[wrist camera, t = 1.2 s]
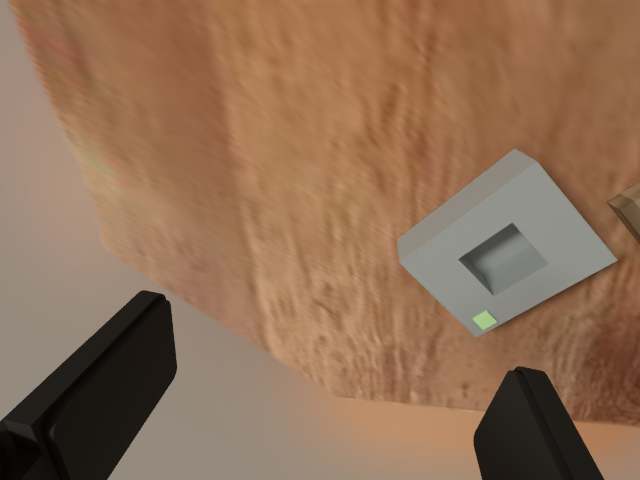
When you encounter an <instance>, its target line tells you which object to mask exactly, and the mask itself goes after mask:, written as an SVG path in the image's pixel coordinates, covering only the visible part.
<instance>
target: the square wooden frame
mask: <svg viewBox="0 0 640 480" xmlns="http://www.w3.org/2000/svg"><path fill="white" fill-rule="evenodd" d="M607 203H608V204H609V205H610V207H611V208H612V209H613V211H614V212H615V213H616V214H617V216H618V217H619V218H620V219H621V221H622V222H623V223H624V225H625V226H626V227H627V228H628V230H629V231H630V232H631V234H632V235H633V236H634V237H635V239H636V240H637V241H638V243H639V244H640V182H638V183H637V184H635V185H633V186H632V187H630V188H629V189H627V190H625V191H624V192H622V193H621V194H619V195H617V196H616V197H614V198H613V199H611V200H609V201H608V202H607Z"/></svg>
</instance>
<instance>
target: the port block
mask: <svg viewBox="0 0 640 480" xmlns="http://www.w3.org/2000/svg"><path fill="white" fill-rule="evenodd" d="M397 246H398V256H399V263H400V264H401V265H402V266H403V267H404V268H405V269H406V270H407V271H408V272H409V273H410V274H411V275H412V276H413V277H415V278H416V279H417V280H418V281H419V282H420V283H421V284H422V285H423V286H424V287H425V288H426V289H427V290H428V291H429V292H430V293H431V294H432V295H433V296H434V297H435V298H436V299H437V300H438V301H439V302H440V303H441V304H442V305H443V306H444V307H445V308H446V309H447V310H448V311H449V312H450V313H451V314H452V315H453V316H454V317H455V318H456V319H457V320H459V321H460V322H461V323H462V324H463V325H464V326H465V327H466V328H467V329H468V330H469V331H470V332H471V333H472V334H473V335H474V336H475V337H476V338H477V337H479V336H481V335H482V334H484V333H486V332H488V331H490V330H491V329H493V328H495V327H497V326H499V325H501V324H502V323H504V322H506V321H508V320H510V319H512V318H513V317H515V316H517V315H519V314H521V313H523V312H524V311H526V310H528V309H530V308H532V307H533V306H535V305H537V304H539V303H541V302H543V301H544V300H546V299H548V298H550V297H552V296H554V295H555V294H557V293H559V292H561V291H563V290H564V289H566V288H568V287H570V286H572V285H574V284H575V283H577V282H579V281H581V280H583V279H585V278H586V277H588V276H590V275H592V274H594V273H596V272H597V271H599V270H601V269H603V268H605V267H606V266H608V265H610V264H612V263H614V262H616V261H617V259H616V258H615V257H614V255H613V254H612V253H611V252H610V250H609V249H608V248H607V247H606V246H605V244H604V243H603V242H602V241H601V239H600V238H599V237H598V236H597V234H596V233H595V232H594V231H593V230H592V228H591V227H590V226H589V225H588V223H587V222H586V221H585V220H584V218H583V217H582V216H581V215H580V214H579V212H578V211H577V210H576V209H575V207H574V206H573V205H572V204H571V202H570V201H569V200H568V199H567V198H566V196H565V195H564V194H563V193H562V191H561V190H560V189H559V188H558V186H557V185H556V184H555V183H554V182H553V180H552V179H551V178H550V177H549V175H548V174H547V173H546V172H545V171H544V169H543V168H542V167H541V166H540V164H539V163H538V162H537V161H536V160H534V159H532V158H530V157H529V156H527V155H525V154H524V153H522V152H520V151H519V150H517V149H513V150H512V151H511V152H509V153H508V154H507V155H506V156H504V157H503V158H502V159H500V160H499V161H498V162H496V163H495V164H494V165H493V166H491V167H490V168H489V169H487V170H486V171H485V172H484V173H482V174H481V175H480V176H478V177H477V178H476V179H474V180H473V181H472V182H471V183H469V184H468V185H467V186H465V187H464V188H463V189H462V190H460V191H459V192H458V193H456V194H455V195H454V196H452V197H451V198H450V199H449V200H447V201H446V202H445V203H443V204H442V205H441V206H440V207H438V208H437V209H436V210H434V211H433V212H432V213H431V214H429V215H428V216H427V217H425V218H424V219H423V220H421V221H420V222H419V223H418V224H416V225H415V226H414V227H412V228H411V229H410V230H409V231H407V232H406V233H405V234H403V235H402V236H401V237H399V238H398V239H397Z"/></svg>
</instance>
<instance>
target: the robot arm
mask: <svg viewBox="0 0 640 480" xmlns="http://www.w3.org/2000/svg"><path fill="white" fill-rule="evenodd" d="M176 370H177V362H176V353H175V342H174V334H173V323H172V314H171V305H170V302H169V301H168V300H166V298H165V296H164V295H163V294H159V293H155V292H150V291H145V290H143V291H140V292H139V293H138V294H137V295H136V296H135V297H133V298H132V299H131V300H130V301H129V302H128V303H127V304H126V305H125V306H124V307H123V308H122V309H121V310H120V311H118V312H117V313H116V314H115V315H114V316H113V317H112V318H111V319H110V320H109V321H108V322H107V323H106V324H104V325H103V326H102V327H101V328H100V329H99V330H98V331H97V332H96V333H95V334H94V335H93V336H92V337H90V338H89V339H88V340H87V341H86V342H85V343H84V344H83V345H82V346H81V347H79V348H78V349H77V350H76V351H75V352H74V353H73V354H72V355H71V356H70V357H69V358H68V359H67V360H66V361H64V362H63V363H62V364H61V365H60V366H59V367H58V368H57V369H56V370H55V371H54V372H53V373H52V374H50V375H49V376H48V377H47V378H46V379H45V380H44V381H43V382H42V383H41V384H40V385H39V386H38V387H37V388H35V389H34V390H33V391H32V392H31V393H30V394H29V395H28V396H27V397H26V398H25V399H24V400H23V401H22V402H20V403H19V404H18V405H17V406H16V407H15V408H14V409H13V410H12V411H11V412H10V413H9V414H8V415H7V416H6V417H4V418H3V419H2V420H1V421H0V480H107V479H108V477H109V476H110V474H111V473H112V471H113V470H114V468H115V467H116V465H117V464H118V462H119V461H120V459H121V458H122V456H123V455H124V453H125V452H126V450H127V449H128V447H129V446H130V444H131V443H132V441H133V440H134V438H135V437H136V435H137V434H138V432H139V431H140V429H141V427H142V426H143V425H144V423H145V422H146V420H147V418H148V417H149V415H150V414H151V412H152V411H153V409H154V408H155V406H156V405H157V403H158V402H159V400H160V399H161V397H162V396H163V394H164V393H165V391H166V390H167V388H168V386H169V385H170V384H171V382H172V381H173V379H174V377H175V374H176ZM474 448H475V452H476V456H477V460H478V464H479V468H480V472H481V476H482V480H604V478H603V476H602V475H601V473H600V471H599V469H598V467H597V465H596V464H595V462H594V460H593V458H592V456H591V455H590V453H589V451H588V449H587V447H586V445H585V444H584V442H583V440H582V438H581V436H580V435H579V433H578V431H577V429H576V427H575V425H574V423H573V422H572V420H571V418H570V416H569V414H568V412H567V411H566V409H565V407H564V405H563V403H562V402H561V400H560V398H559V396H558V394H557V392H556V391H555V389H554V387H553V385H552V383H551V381H550V380H549V378H548V376H547V375H546V373H545V372H543V371H540V370H535V369H530V368H525V367H519V366H518V367H516V368H515V369H514V371H511V370H510V371H508V373H507V374H506V376H505V378H504V379H503V381H502V383H501V385H500V387H499V389H498V391H497V392H496V394H495V396H494V398H493V400H492V402H491V404H490V405H489V407H488V409H487V411H486V413H485V415H484V416H483V418H482V420H481V422H480V424H479V426H478V428H477V429H476V431H475V434H474Z"/></svg>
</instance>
